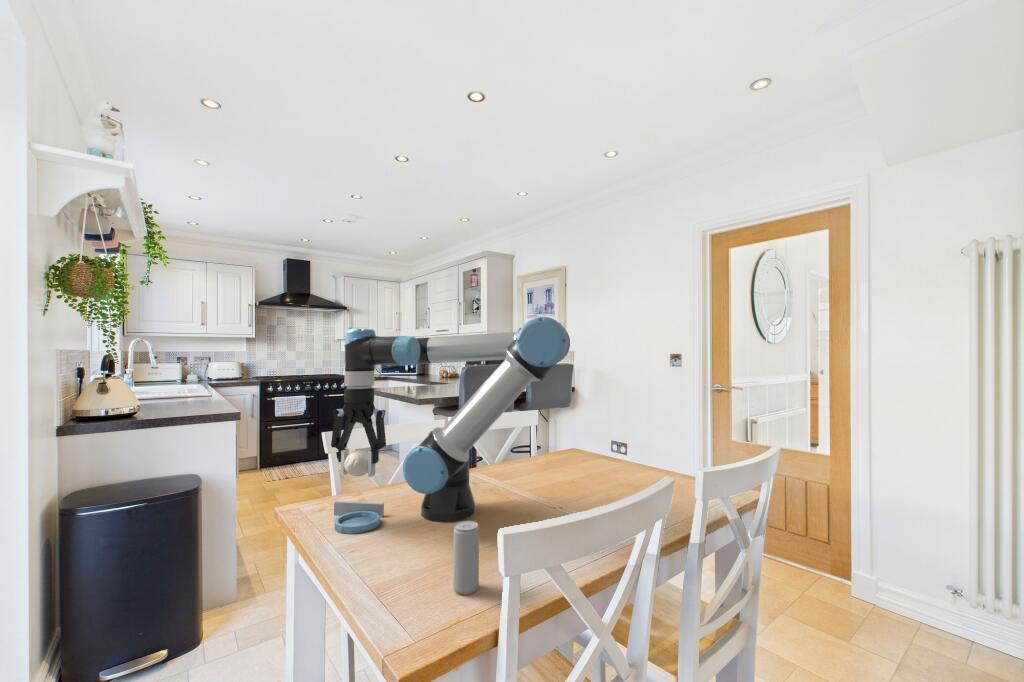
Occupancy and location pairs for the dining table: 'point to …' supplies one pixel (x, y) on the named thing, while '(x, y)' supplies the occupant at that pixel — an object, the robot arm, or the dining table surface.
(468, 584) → the beverage can
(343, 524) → the saucer
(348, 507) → the panel
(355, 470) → the cream creased ball
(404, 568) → the dining table surface
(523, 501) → the dining table surface
